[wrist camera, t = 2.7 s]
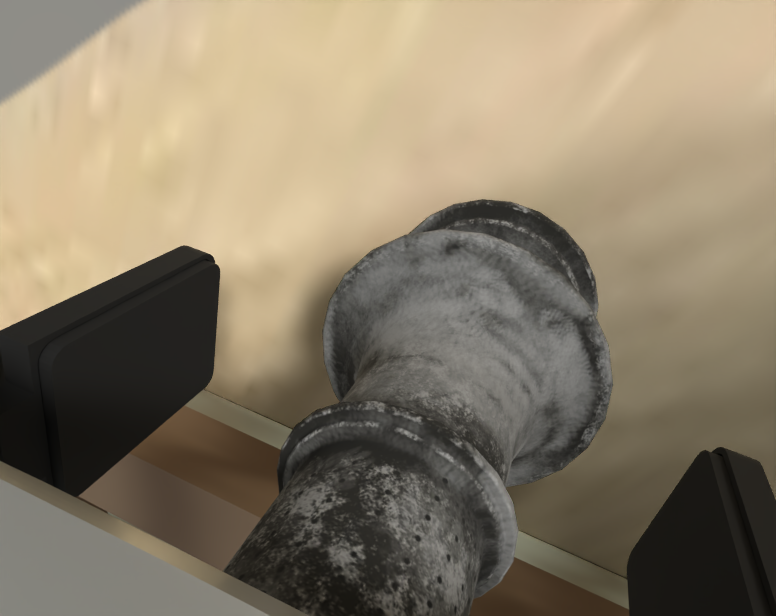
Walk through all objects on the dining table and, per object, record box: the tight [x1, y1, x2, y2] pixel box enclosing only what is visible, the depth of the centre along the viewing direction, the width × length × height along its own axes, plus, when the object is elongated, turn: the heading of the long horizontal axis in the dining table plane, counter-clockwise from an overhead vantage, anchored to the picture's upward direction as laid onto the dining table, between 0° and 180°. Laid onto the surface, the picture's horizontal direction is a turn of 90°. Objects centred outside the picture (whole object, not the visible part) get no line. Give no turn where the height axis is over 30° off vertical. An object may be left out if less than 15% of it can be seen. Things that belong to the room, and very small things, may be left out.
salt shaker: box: [222, 199, 613, 616], centre depth 9 cm, size 6×6×12 cm
